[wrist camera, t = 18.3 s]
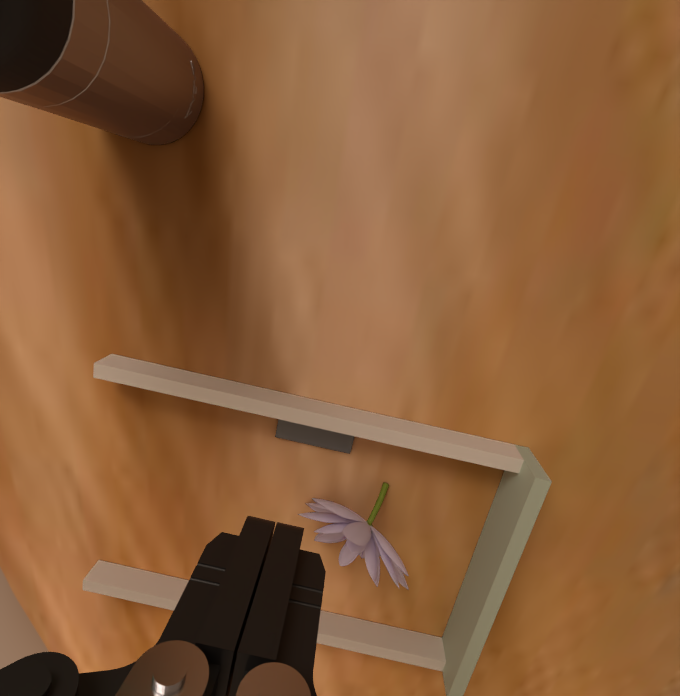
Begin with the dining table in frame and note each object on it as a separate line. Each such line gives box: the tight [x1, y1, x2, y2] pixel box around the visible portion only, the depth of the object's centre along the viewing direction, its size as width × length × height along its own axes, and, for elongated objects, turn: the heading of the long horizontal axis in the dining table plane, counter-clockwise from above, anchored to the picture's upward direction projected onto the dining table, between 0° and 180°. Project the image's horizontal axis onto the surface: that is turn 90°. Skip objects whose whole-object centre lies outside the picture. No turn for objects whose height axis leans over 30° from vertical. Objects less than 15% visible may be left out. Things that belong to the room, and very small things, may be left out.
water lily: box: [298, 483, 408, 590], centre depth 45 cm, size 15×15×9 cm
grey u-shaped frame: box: [83, 354, 552, 696], centre depth 46 cm, size 44×28×6 cm, turn 78°
